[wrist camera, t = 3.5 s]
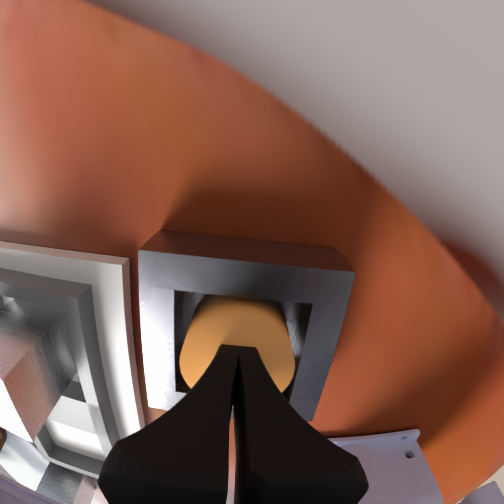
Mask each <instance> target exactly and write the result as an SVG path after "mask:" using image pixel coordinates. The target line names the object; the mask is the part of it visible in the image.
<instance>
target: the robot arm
mask: <svg viewBox="0 0 504 504" xmlns="http://www.w3.org/2000/svg"><path fill="white" fill-rule="evenodd" d="M232 407H233V417H234V433H235V448H236V469H235V491H234V504H443V498H442V494H441V491H440V488H439V486H438V484H437V482H436V480H435V478H434V475H433V473H432V471H431V469H430V467H429V465H428V463H427V461H426V459H425V456H424V454H423V452H422V450H421V448H420V446H419V444H418V442H417V438H418V437H419V435H420V431H419V429H412V430H406V431H399V432H392V433H385V434H376V435H367V436H356V437H343V438H326V437H324V436H323V435H321V434H320V433H319V432H318V431H317V430H316V429H314V428H313V427H312V426H311V425H310V424H309V423H307V422H306V421H305V420H304V419H303V418H302V417H301V416H300V415H299V414H298V413H297V411H296V410H295V409H294V408H293V407H292V406H291V405H290V403H289V402H288V401H287V400H286V398H285V397H284V396H283V394H282V393H281V392H280V390H279V389H278V387H277V386H276V384H275V383H274V381H273V379H272V378H271V376H270V374H269V373H268V371H267V369H266V367H265V365H264V363H263V361H262V359H261V357H260V354H259V352H258V349H257V348H256V347H248V346H236V345H226V344H221V345H220V346H219V348H218V350H217V352H216V354H215V356H214V358H213V360H212V361H211V363H210V365H209V366H208V368H207V369H206V371H205V372H204V373H203V375H202V376H201V377H200V379H199V380H198V381H197V382H196V384H195V385H194V386H193V387H192V388H191V389H190V391H189V392H188V393H187V394H186V395H185V396H184V397H183V398H182V399H181V400H180V401H179V402H178V403H176V404H175V405H174V406H173V407H172V408H171V409H169V410H168V411H167V412H166V413H164V414H163V415H162V416H161V417H159V418H158V419H156V420H155V421H153V422H152V423H150V424H149V425H147V426H145V427H144V428H142V429H141V430H139V431H137V432H135V433H133V434H131V435H129V436H127V437H125V438H123V439H121V440H119V441H117V442H116V443H115V444H114V446H113V447H112V449H111V450H110V452H109V454H108V456H107V457H106V459H105V461H104V463H103V466H102V469H101V472H100V474H99V477H98V480H97V482H98V485H99V488H100V489H101V491H102V493H103V495H104V496H105V498H106V500H107V501H108V503H109V504H226V500H227V493H228V473H229V424H230V419H231V413H232ZM0 504H62V503H60V502H57V501H55V500H53V499H50V498H48V497H46V496H44V495H42V494H39V493H37V492H35V491H33V490H31V489H29V488H27V487H25V486H23V485H21V484H19V483H17V482H15V481H14V480H12V479H10V478H8V477H6V476H5V475H3V474H1V473H0ZM458 504H504V496H503V494H502V492H501V491H500V489H499V487H498V485H497V483H496V482H495V481H493V482H491V483H488V484H486V485H484V486H482V487H480V488H478V489H476V490H474V491H472V492H471V493H470V494H468V495H467V496H466V497H465V498H464V499H463V500H462V501H461V503H458Z"/></svg>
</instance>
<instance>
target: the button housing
mask: <svg viewBox="0 0 504 504" xmlns="http://www.w3.org/2000/svg"><path fill="white" fill-rule="evenodd" d="M138 273H139V304H140V323H141V338H142V350H143V361H144V372H145V381H146V389H147V397H148V405H149V407H152V408H158V409H164V410H169V409H171V408H172V407H173V406H174V405H175V404H176V403H178V402H179V401H180V400H181V399H182V398H183V397H184V396H185V395H186V394H187V393H188V392H189V391H190V389H191V388H190V387H189V386H188V385H187V383H186V382H185V380H184V378H183V376H182V374H181V370H180V363H179V362H180V354H181V350H182V347H183V344H184V341H185V337H186V334H187V331H188V328H189V325H190V322H191V319H192V316H193V313H194V310H195V308H196V307H197V305H198V303H199V302H200V301H201V300H202V299H203V298H204V297H205V296H206V295H208V294H215V295H224V296H233V297H243V298H254V299H264V300H276V301H277V302H278V304H279V305H280V306H281V308H282V310H283V312H284V314H285V317H286V322H287V326H288V331H289V336H290V340H291V345H292V350H293V355H294V360H295V370H294V374H293V377H292V380H291V382H290V383H289V385H288V386H287V388H286V389H285V390H284V391H283V392H282V394H283V396H284V397H285V398H286V400H287V401H288V402H289V403H290V405H291V406H292V407H293V408H294V409H295V410H296V411H297V413H298V414H299V415H300V416H301V417H302V418H303V419H304V420H305V421H312V419H313V417H314V414H315V411H316V408H317V405H318V403H319V400H320V397H321V394H322V391H323V388H324V385H325V382H326V379H327V376H328V372H329V369H330V366H331V363H332V360H333V356H334V353H335V350H336V346H337V343H338V339H339V336H340V332H341V329H342V325H343V321H344V318H345V314H346V310H347V306H348V302H349V298H350V294H351V290H352V286H353V282H354V278H355V273H356V272H355V271H354V270H353V268H352V267H351V266H350V265H349V264H348V263H347V261H346V260H345V259H344V258H343V257H342V256H341V255H340V253H339V252H338V251H337V250H336V249H335V248H326V247H317V246H308V245H299V244H290V243H281V242H271V241H262V240H253V239H243V238H233V237H224V236H214V235H204V234H194V233H184V232H174V231H164V230H159V231H158V232H157V233H156V234H155V235H154V236H153V237H152V238H151V239H150V240H148V241H147V242H146V243H145V244H144V245H143V246H142V247H141V248H140V249H139V250H138ZM231 418H234V417H233V408H232V413H231Z"/></svg>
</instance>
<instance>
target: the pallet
mask: <svg viewBox="0 0 504 504" xmlns="http://www.w3.org/2000/svg"><path fill="white" fill-rule="evenodd" d="M12 299H17V300H20V301H24V302H28V303H32V304H36V305H40V306H45V307H49V308H53V309H58V310H62V311H65V312H66V318H67V324H68V329H69V334H70V339H71V344H72V349H73V353H74V358H75V362H76V366H77V370H78V372H77V373H76V375H75V376H74V378H73V379H72V381H71V382H70V384H69V385H68V387H67V388H66V390H65V391H64V393H63V394H62V396H61V397H60V399H59V401H58V402H57V404H56V405H55V407H54V408H53V410H52V412H51V413H50V415H49V416H48V418H47V420H46V421H45V423H44V425H43V426H42V428H41V429H40V431H39V433H38V434H37V436H36V438H35V440H34V442H35V444H36V446H37V448H38V449H39V451H40V453H41V454H42V456H43V458H44V459H45V460H48V461H50V462H53V463H55V464H58V465H60V466H63V467H65V468H68V469H71V470H73V471H76V472H79V473H82V474H85V475H88V476H91V477H94V478H97V479H98V477H99V474H100V472H101V469H102V466H103V463H104V461H105V459H106V457H107V456H108V454H109V452H110V450H111V449H112V447H113V446H114V444H115V443H116V442H117V441H119V440H121V439H123V438H125V437H127V436H129V435H131V434H133V433H135V432H137V431H139V430H141V429H142V428H144V427H145V422H144V416H143V410H142V403H141V397H140V390H139V382H138V374H137V366H136V357H135V347H134V337H133V325H132V310H131V292H130V262H129V258H125V257H117V256H109V255H101V254H93V253H85V252H77V251H69V250H62V249H54V248H47V247H39V246H32V245H25V244H18V243H11V242H4V241H0V309H1V308H2V307H3V306H4V305H6V304H7V303H8V302H10V301H11V300H12Z"/></svg>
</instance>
